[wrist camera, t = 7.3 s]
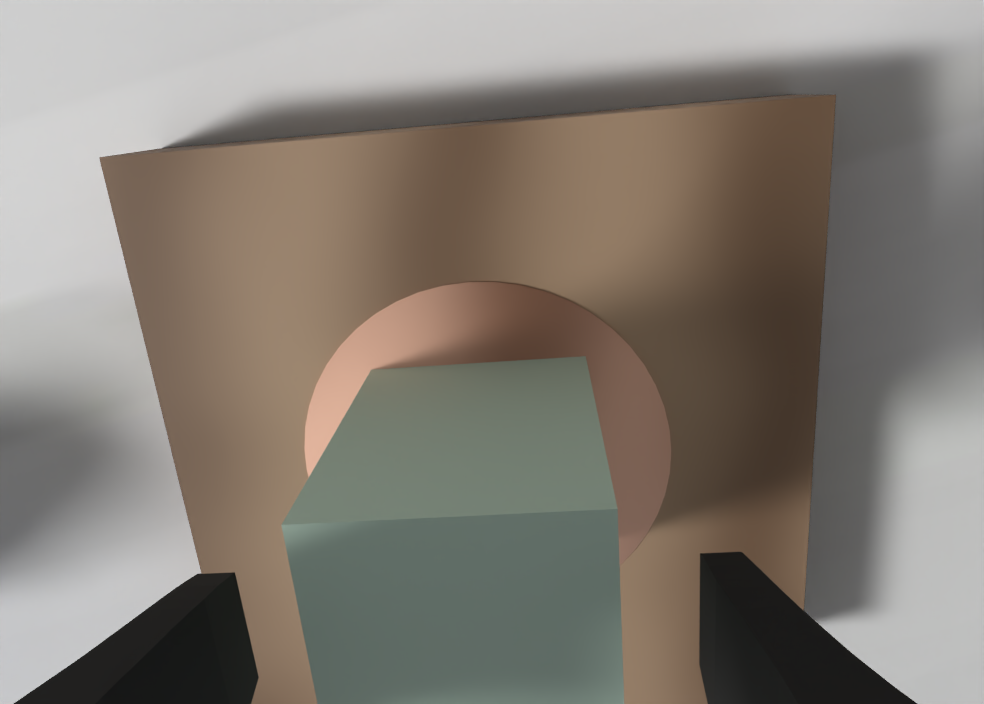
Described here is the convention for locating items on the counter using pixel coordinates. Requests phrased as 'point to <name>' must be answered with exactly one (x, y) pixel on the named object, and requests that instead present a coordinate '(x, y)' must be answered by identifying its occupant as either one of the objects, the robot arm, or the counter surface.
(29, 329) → the counter surface
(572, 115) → the walnut base
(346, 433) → the sage block
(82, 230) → the counter surface
